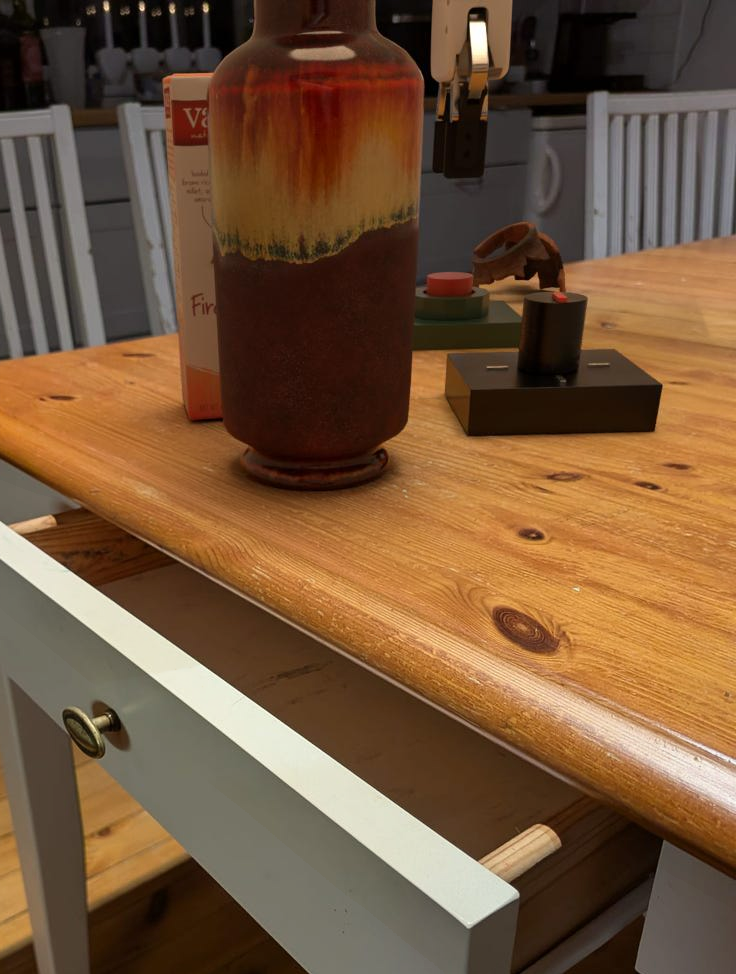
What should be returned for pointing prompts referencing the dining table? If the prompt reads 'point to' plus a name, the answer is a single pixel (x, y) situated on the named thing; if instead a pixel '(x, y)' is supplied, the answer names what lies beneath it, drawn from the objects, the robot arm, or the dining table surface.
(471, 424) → the dial console
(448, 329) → the block
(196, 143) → the cracker box
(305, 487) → the vase
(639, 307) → the dining table surface
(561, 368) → the browning dial
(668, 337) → the dining table surface
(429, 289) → the button
